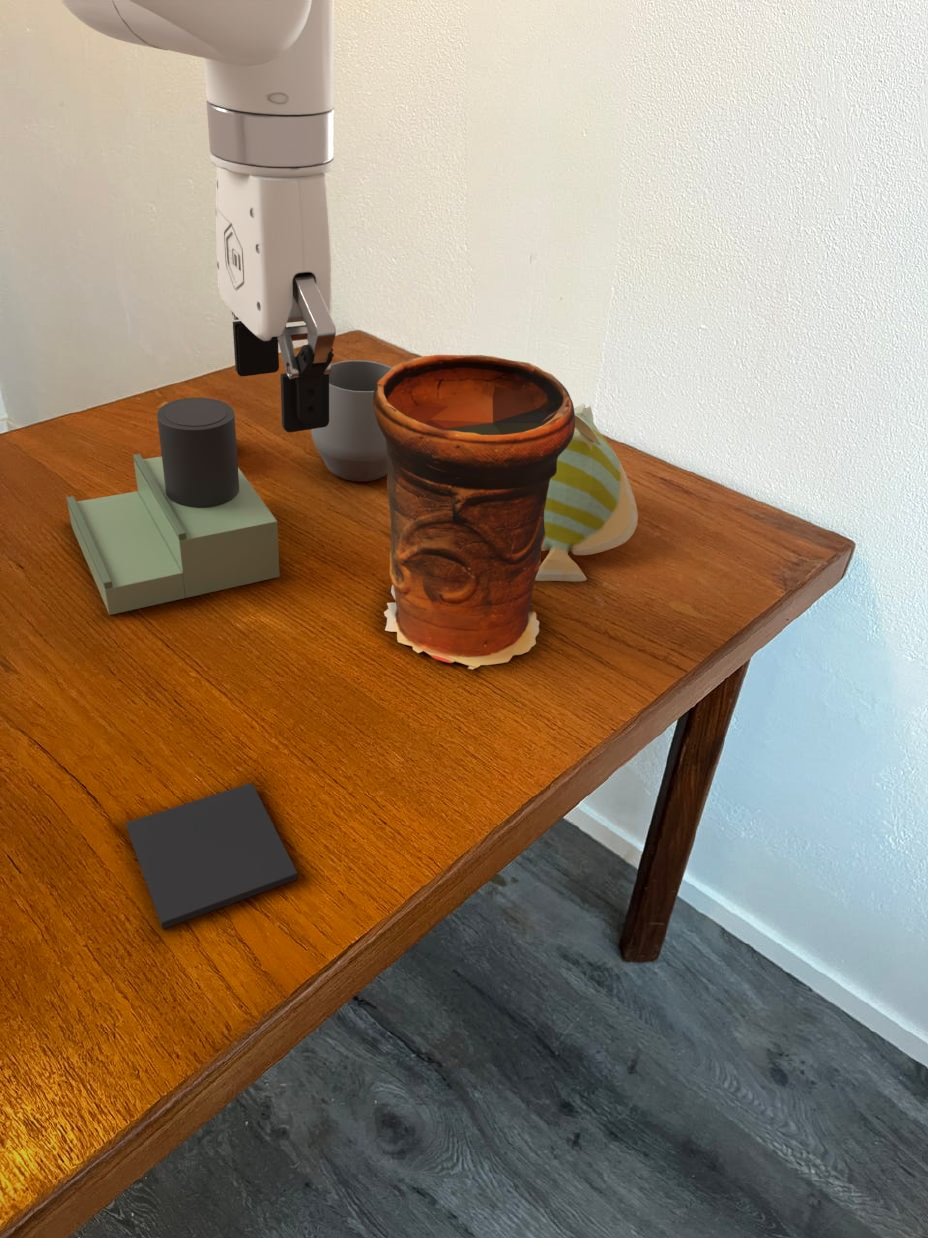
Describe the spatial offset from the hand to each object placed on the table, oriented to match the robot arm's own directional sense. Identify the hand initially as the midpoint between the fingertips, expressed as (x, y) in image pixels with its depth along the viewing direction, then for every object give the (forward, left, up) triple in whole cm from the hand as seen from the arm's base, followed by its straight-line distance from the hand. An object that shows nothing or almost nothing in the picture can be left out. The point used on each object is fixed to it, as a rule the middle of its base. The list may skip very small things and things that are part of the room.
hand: (280, 399), depth 70 cm
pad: (-14, -23, -18) cm, 32 cm away
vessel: (+11, -8, -18) cm, 23 cm away
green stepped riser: (-7, +10, -18) cm, 21 cm away
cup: (+14, +18, -18) cm, 29 cm away
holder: (-4, +10, -12) cm, 16 cm away
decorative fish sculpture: (+26, +1, -18) cm, 32 cm away
